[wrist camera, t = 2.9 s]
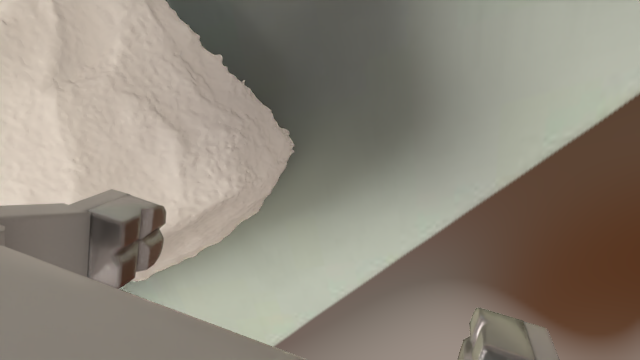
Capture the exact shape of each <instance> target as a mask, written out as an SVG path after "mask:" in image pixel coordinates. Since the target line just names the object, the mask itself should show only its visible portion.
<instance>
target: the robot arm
mask: <svg viewBox="0 0 640 360" xmlns="http://www.w3.org/2000/svg"><path fill="white" fill-rule="evenodd" d="M165 223H166V210H165V208H164V206H162V205H159V204H156V203H153V202H150V201H147V200H144V199H141V198H138V197H135V196H132V195H130V194H128V193H124V192H121V191H117V190H113V189H111V190H108V191H105V192H103V193H100V194H97V195H94V196H91V197H89V198H86V199H83V200H80V201H78V202H75V203H72V204H69V205H67V204H64V203H56V204H31V205H6V206H0V360H307V359H305V358H302V357H299V356H297V355H294V354H291V353H289V352H286V351H283V350H280V349H278V348H275V347H272V346H270V345H267V344H264V343H262V342H259V341H256V340H254V339H251V338H248V337H246V336H243V335H240V334H238V333H235V332H232V331H230V330H227V329H224V328H222V327H219V326H216V325H214V324H211V323H208V322H206V321H203V320H200V319H198V318H195V317H192V316H190V315H187V314H184V313H182V312H179V311H176V310H174V309H171V308H168V307H165V306H163V305H160V304H157V303H155V302H152V301H149V300H147V299H144V298H141V297H139V296H136V295H133V294H131V293H128V292H125V291H123V290H120V289H119V288H121V287H122V286H124V285H125V284H127V283H128V282H130V281H131V280H133V279H134V278H135V274H136V272H138V271H144V270H147V269H149V268H150V267H151V266H153V265H154V264H155V262H156V261H157V259H158V258H159V256H160V254H161V251H162V248H163V242H164V238H163V235H162V233H161V231H160V228H161V227H162V226H163V225H164V224H165ZM469 324H470V336H469V337H468V338H466V339H464V340H463V343H462V346H461V349H460V352H459V356H458V360H559V357H558V355H557V352H556V349H555V347H554V344H553V342H552V339H551V337H550V334H549V332H548V330H547V329H546V328H544V327H541V326H538V325H534V324H530V323H527V322H524V321H522V320H519V319H516V318H512V317H509V316H505V315H502V314H499V313H495V312H492V311H489V310H485V309H482V308H476V309H475V311H474V313H473V315H472V318H471V321H470V323H469Z"/></svg>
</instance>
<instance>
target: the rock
mask: <svg viewBox="0 0 640 360" xmlns="http://www.w3.org/2000/svg"><path fill="white" fill-rule="evenodd" d="M199 39H200V36H199V35H198V34H196V33H194V32H193V31H192V30H191V29H190V27H189V25H187V24H186V23H184V22H183V21H182V20H181V19H180V18H179V17H178V16H177V13H176V11H175V10H173V9H171V8H170V7H169V4H168V2H166V1H165V0H0V206H6V205H31V204H56V203H64V204H67V205H69V204H72V203H75V202H78V201H80V200H83V199H86V198H89V197H91V196H94V195H97V194H100V193H103V192H105V191H108V190H111V189H113V190H117V191H121V192H124V193H128V194H130V195H132V196H135V197H138V198H141V199H144V200H147V201H150V202H153V203H156V204H159V205H162V206H164V208H165V210H166V223H165V224H164V225H163V226H162V227H161V228H160V231H161V233H162V235H163V238H164V242H163V248H162V251H161V254H160V256H159V258H158V259H157V261H156V262H155V264H154V265H153V266H151V267H150V268H149V269H147V270H144V271H138V272H136V274H135V278H134V279H133V280H131V281H136V282H138V281H143V280H145V279H148V278H149V277H150V275H153V274H154V273H156V272H158V271H161V270H164V269H167V268H168V267H170V266H172V265H176V264H179V263H181V262H182V261H183V260H185V259H187V258H190V257H194V256H196V255H197V254H198V252H200V251H202V250H203V249H204V248H206V247H208V246H211V245H214V244H216V243H219V242H221V240H222V239H224V237H226V236H228V235H229V234H230V233H231V232H232V231H233V230H234V229H235V228H236V226H237V225H238V224H240V223H241V222H242V221H243V220H247V219H249V218H250V217H251V216H252V215H254V214H256V213H257V212H258V211H259V210H260V207H261V206H262V205H263V201H264V199H265V198H266V197H267V196H268V195H269V194H271V192H272V189H273V187H274V186H275V185H276V183H277V181H278V180H279V176H280V175H281V173H282V172H283V171H284V169H285V168H286V166H287V161H288V160H289V156H290V155H291V154H292V153H293V152H294V150H293V149H292V148H293V147H294V146H295V145H294V144H293V141H292V140H291V139H290V137H289V133H290V132H289V131H288V130H287V129H284V128H280V127H279V126H278V123H277V122H276V120H274V117H273V113H271V111H272V110H270V109H269V108H268V107H266V106H264V105H263V104H262V103H261V102H260V101H259V100H258V99H257V98H256V97H255V94H253V93H252V92H251V89H250V88H248V87H246V86H245V85H244V83H245V80H243V81H242V82H241V81H240V80H238V79H237V78H236V77H235V76H234V75H233V74H230V73H229V72H228V67H225V66H223V64H222V60H223V58H222V56H221V55H213V54H212V53H210V52H209V51H207V50H206V49H205V48H204V47H203V46H201V42H200V41H199Z"/></svg>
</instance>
